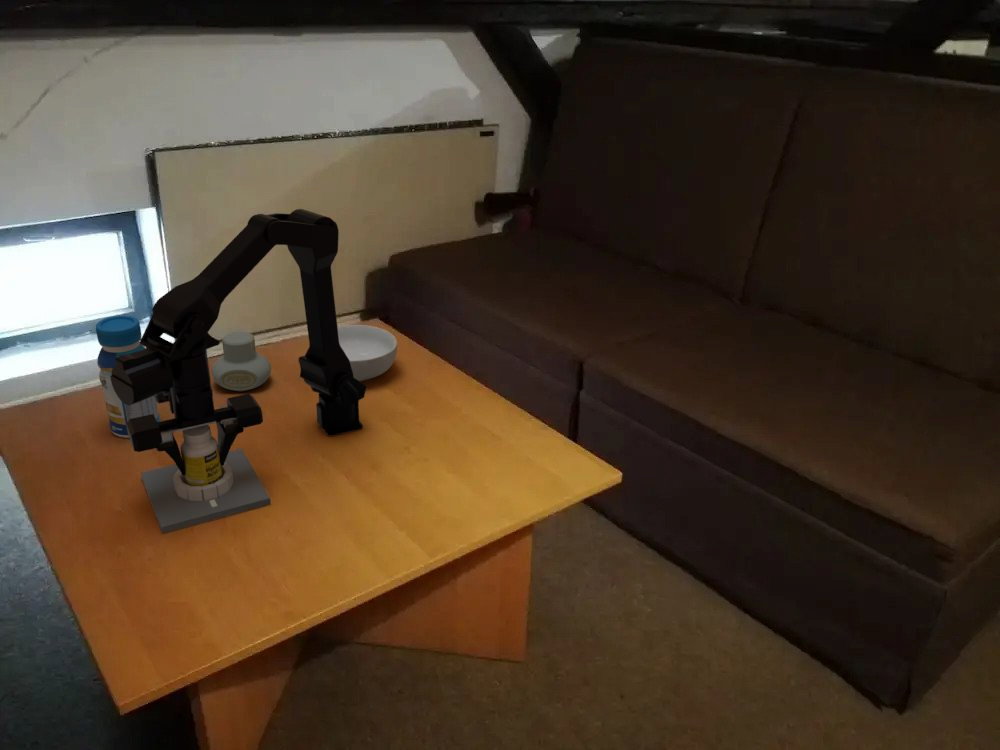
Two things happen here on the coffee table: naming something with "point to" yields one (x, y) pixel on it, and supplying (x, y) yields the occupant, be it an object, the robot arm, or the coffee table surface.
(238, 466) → the mount plate
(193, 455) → the supplement bottle
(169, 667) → the coffee table surface
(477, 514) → the coffee table surface
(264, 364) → the air freshener
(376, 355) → the cereal bowl
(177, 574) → the coffee table surface
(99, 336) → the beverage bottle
